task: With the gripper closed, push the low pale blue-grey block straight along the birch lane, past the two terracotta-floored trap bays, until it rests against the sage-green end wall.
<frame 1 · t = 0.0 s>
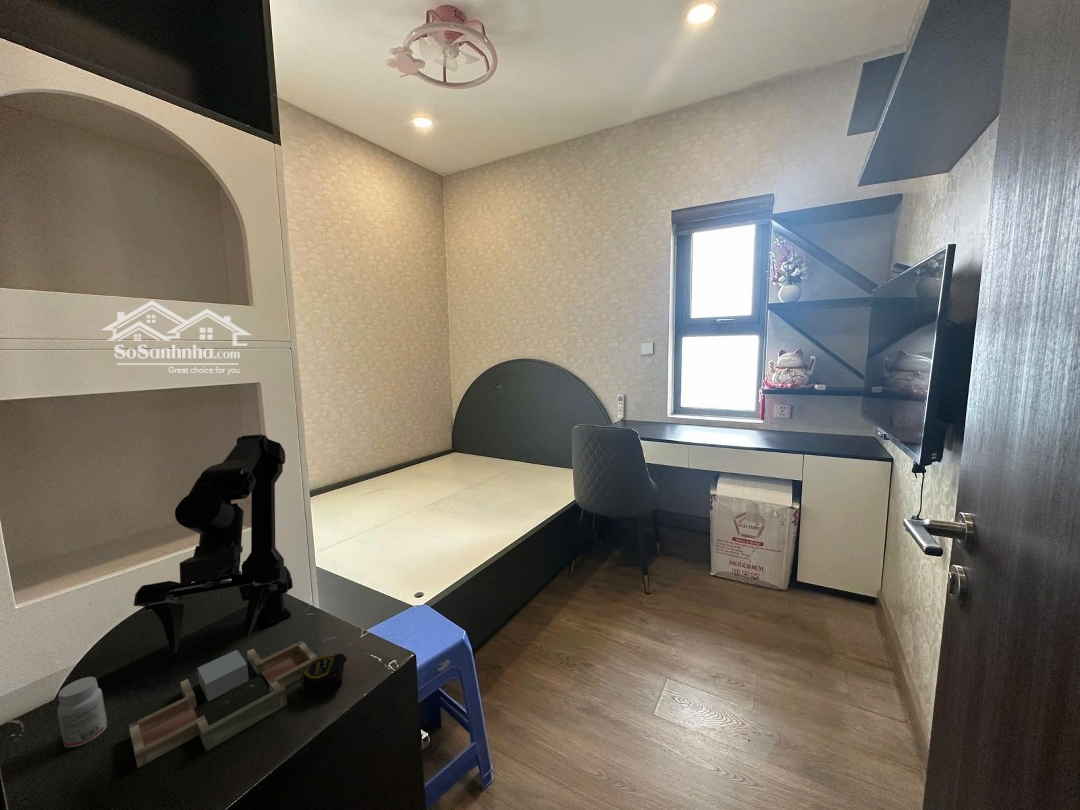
hand: (211, 644, 64), 15 cm above the cabinet, fingers open, 9 cm apart
tape measure: (328, 684, 76), on the cabinet
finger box: (233, 699, 73), on the cabinet
block: (224, 683, 76), on the cabinet
pill bottle: (86, 736, 66), on the cabinet
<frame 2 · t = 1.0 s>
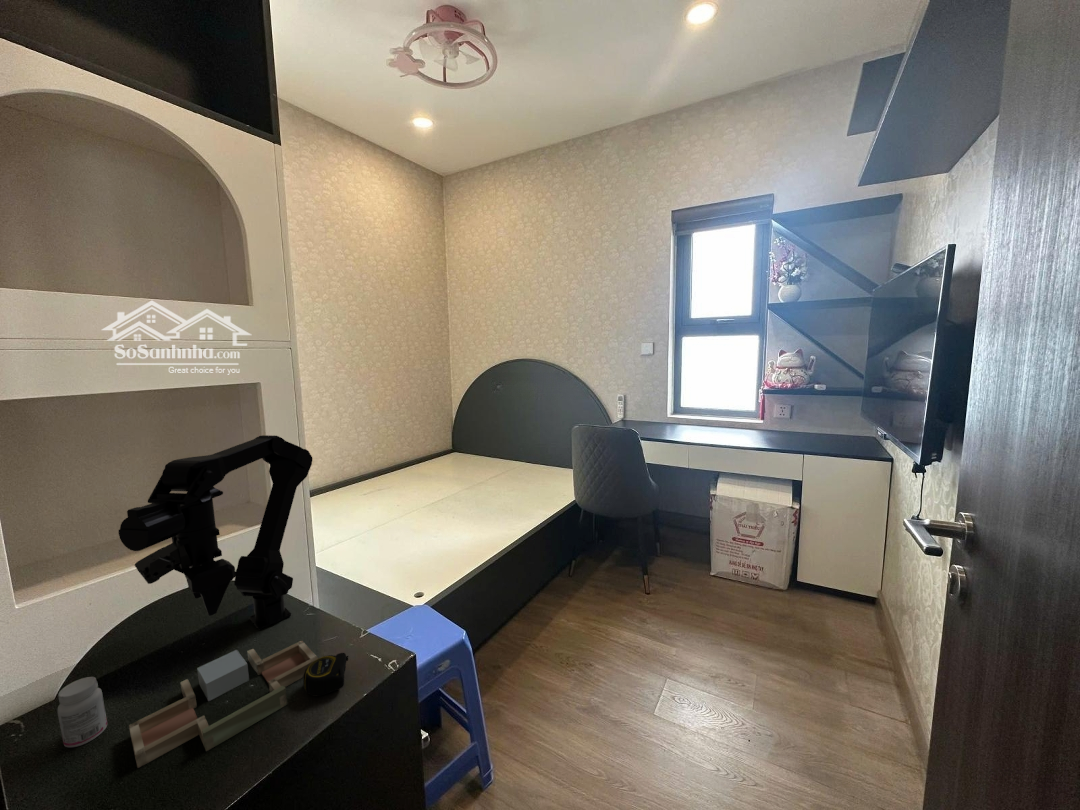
hand: (205, 605, 80), 12 cm above the cabinet, fingers open, 9 cm apart
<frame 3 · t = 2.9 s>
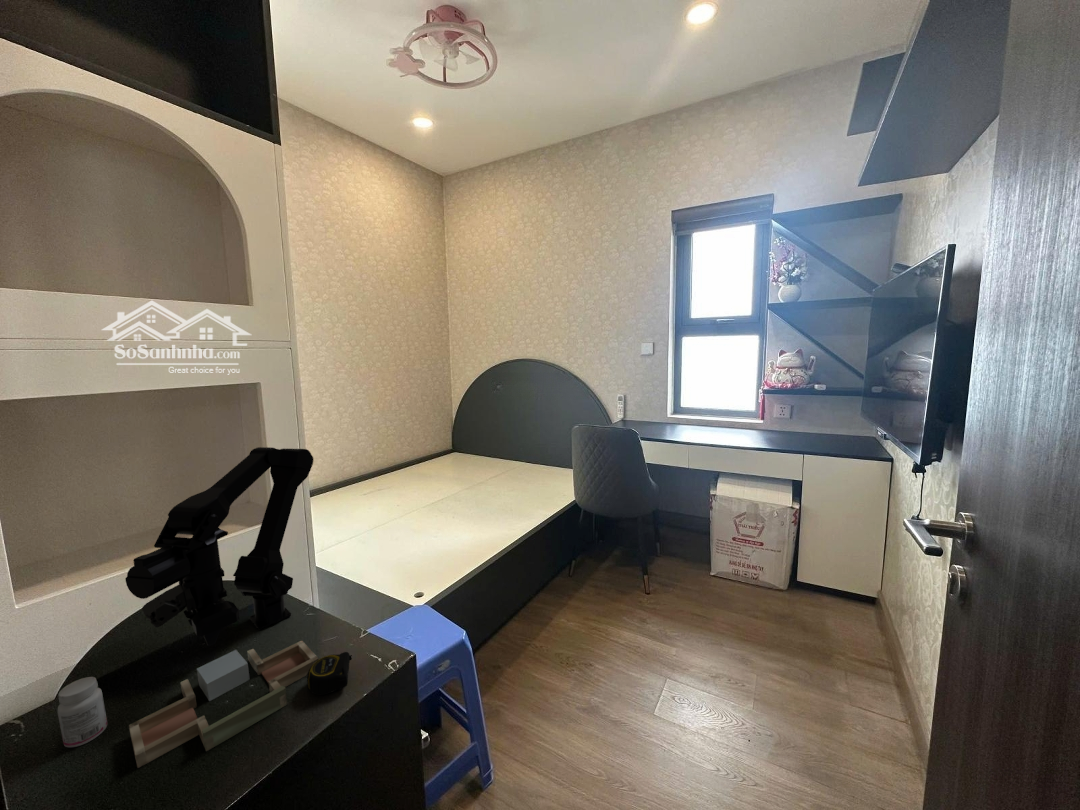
hand: (211, 644, 81), 4 cm above the cabinet, fingers closed
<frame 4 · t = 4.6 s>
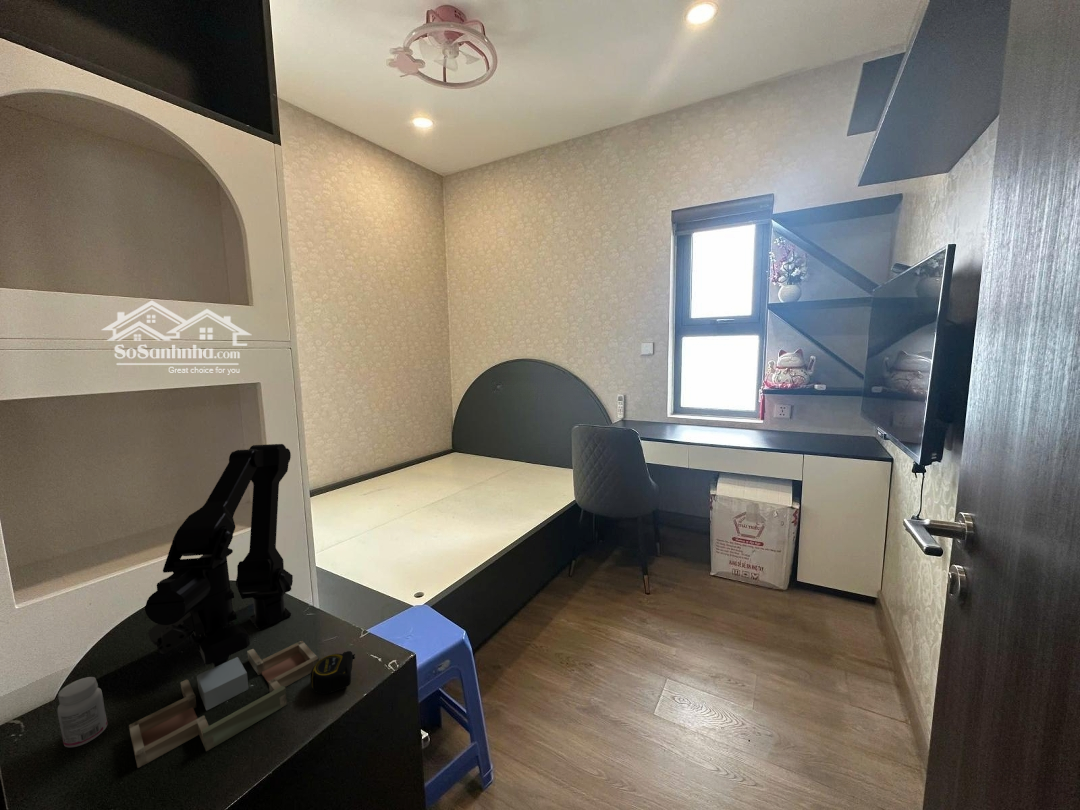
hand: (219, 669, 77), 2 cm above the cabinet, fingers closed
block: (223, 692, 75), on the cabinet
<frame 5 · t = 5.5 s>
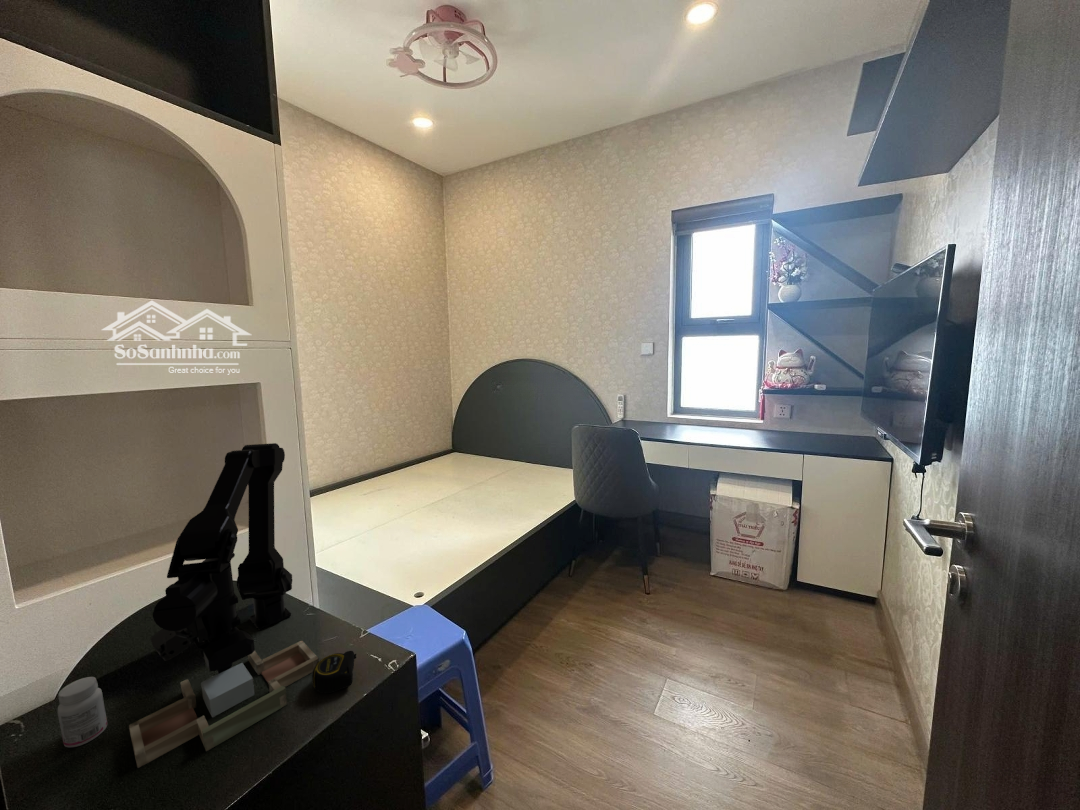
hand: (223, 675, 76), 2 cm above the cabinet, fingers closed
block: (229, 698, 73), on the cabinet, touching gripper
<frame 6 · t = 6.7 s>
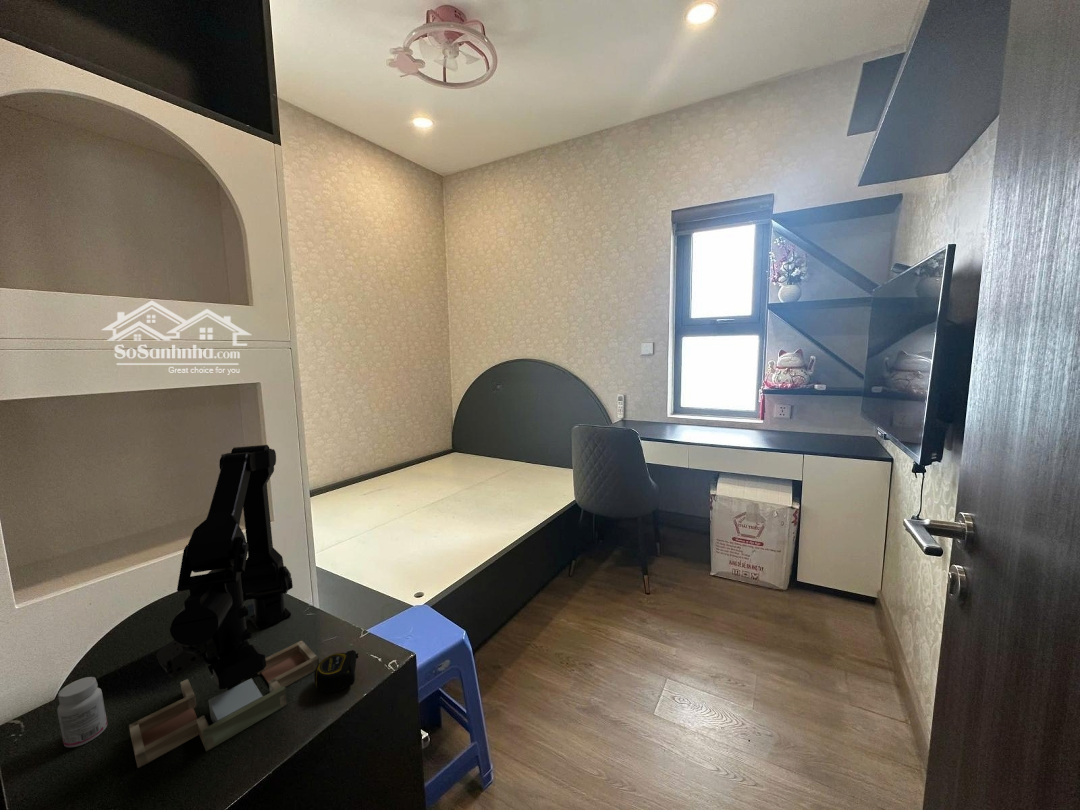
hand: (232, 691, 72), 2 cm above the cabinet, fingers closed
block: (238, 717, 69), on the cabinet
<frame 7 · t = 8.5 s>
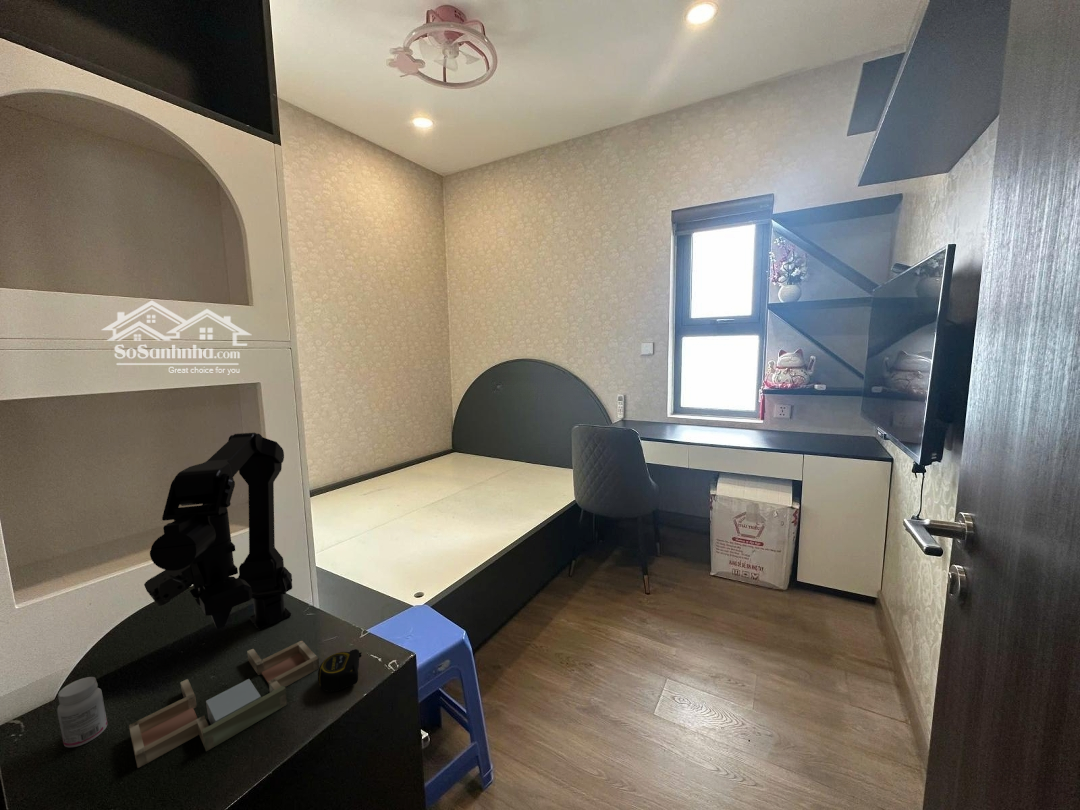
hand: (220, 627, 73), 12 cm above the cabinet, fingers closed
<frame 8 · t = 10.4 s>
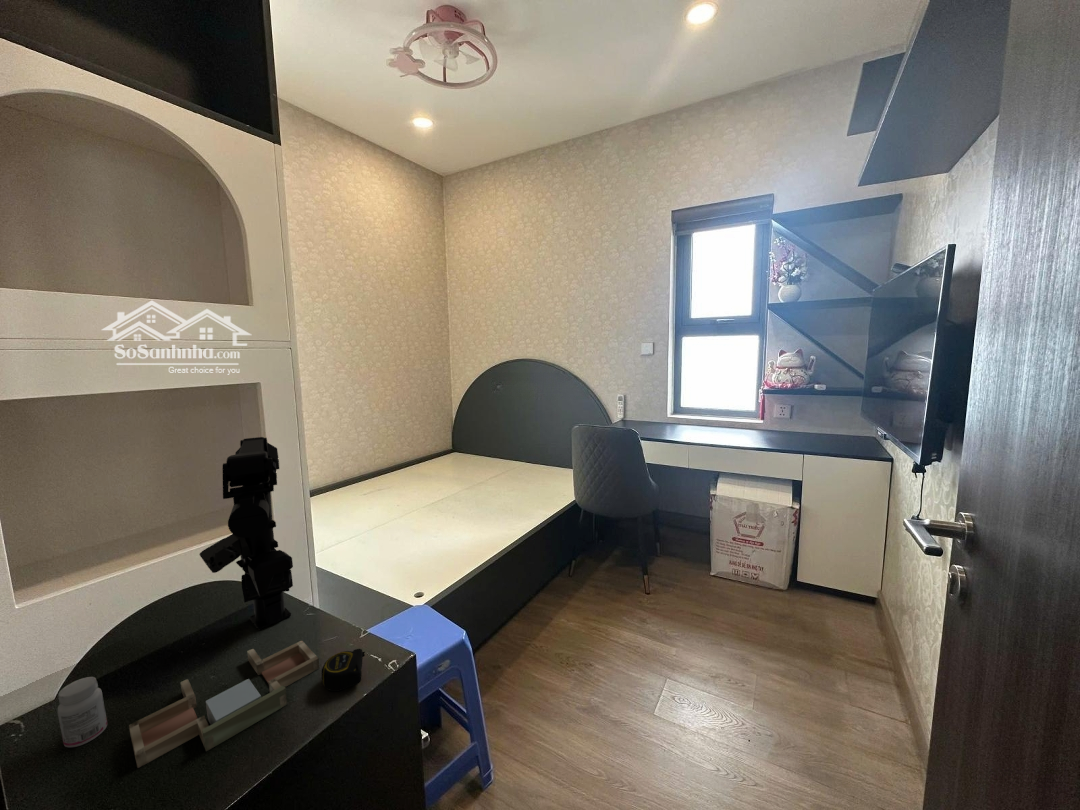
hand: (262, 594, 83), 12 cm above the cabinet, fingers closed
at the end: block 0.8 cm from the target spot, on the cabinet; block tilted 0° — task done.
